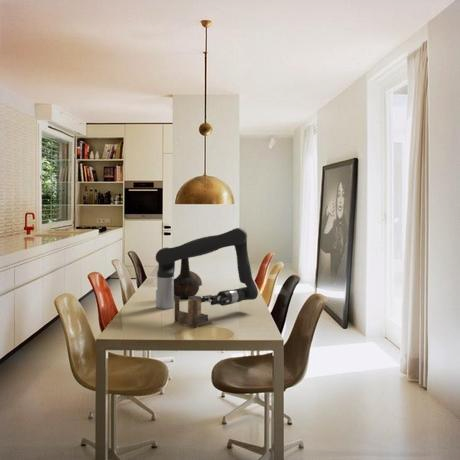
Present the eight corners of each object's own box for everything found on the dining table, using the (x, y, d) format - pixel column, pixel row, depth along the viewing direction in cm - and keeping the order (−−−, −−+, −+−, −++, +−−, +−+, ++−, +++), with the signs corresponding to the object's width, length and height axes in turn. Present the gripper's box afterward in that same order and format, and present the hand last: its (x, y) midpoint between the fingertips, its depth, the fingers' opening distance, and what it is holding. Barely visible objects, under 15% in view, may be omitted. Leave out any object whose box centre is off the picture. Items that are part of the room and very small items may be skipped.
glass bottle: (190, 293, 344) (190, 249, 342) (204, 298, 329) (204, 252, 327) (165, 296, 335) (165, 251, 333) (178, 301, 320) (178, 253, 318)
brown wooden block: (187, 321, 265) (188, 296, 264) (195, 319, 269) (195, 295, 268) (193, 322, 262) (193, 298, 261) (201, 320, 266) (201, 296, 265)
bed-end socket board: (173, 322, 266) (173, 296, 265) (191, 318, 274) (191, 293, 273) (194, 328, 255) (194, 301, 254) (212, 323, 264) (212, 297, 263)
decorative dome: (201, 282, 387) (201, 268, 387) (202, 287, 368) (202, 272, 367) (174, 282, 386) (174, 268, 385) (173, 287, 366) (173, 272, 365)
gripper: (217, 288, 287) (195, 292, 275) (237, 292, 277) (215, 296, 265) (217, 302, 287) (195, 307, 275) (237, 306, 277) (215, 311, 266)
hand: (205, 301), depth 270 cm, fingers open, 8 cm apart
